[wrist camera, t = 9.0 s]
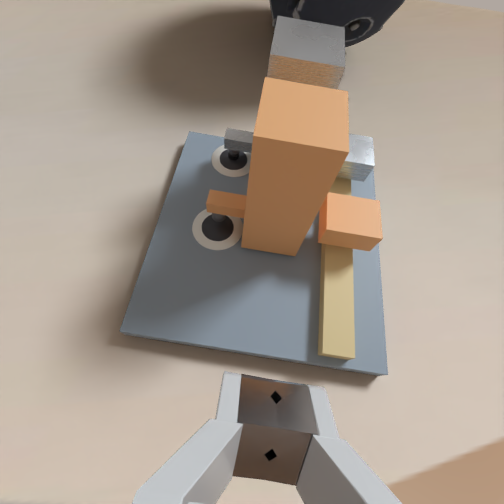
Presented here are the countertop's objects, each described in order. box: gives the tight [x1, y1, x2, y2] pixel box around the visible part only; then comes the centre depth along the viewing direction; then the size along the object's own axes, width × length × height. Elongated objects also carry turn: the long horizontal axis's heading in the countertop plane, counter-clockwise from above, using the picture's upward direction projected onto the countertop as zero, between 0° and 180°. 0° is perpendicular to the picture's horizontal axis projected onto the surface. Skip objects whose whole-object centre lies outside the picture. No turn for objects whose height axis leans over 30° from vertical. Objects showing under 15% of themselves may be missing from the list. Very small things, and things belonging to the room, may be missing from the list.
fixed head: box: [224, 16, 375, 182], centre depth 20 cm, size 12×4×10 cm, turn 82°
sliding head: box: [206, 77, 383, 256], centre depth 17 cm, size 12×4×10 cm, turn 82°
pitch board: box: [120, 131, 388, 376], centre depth 22 cm, size 17×18×2 cm
